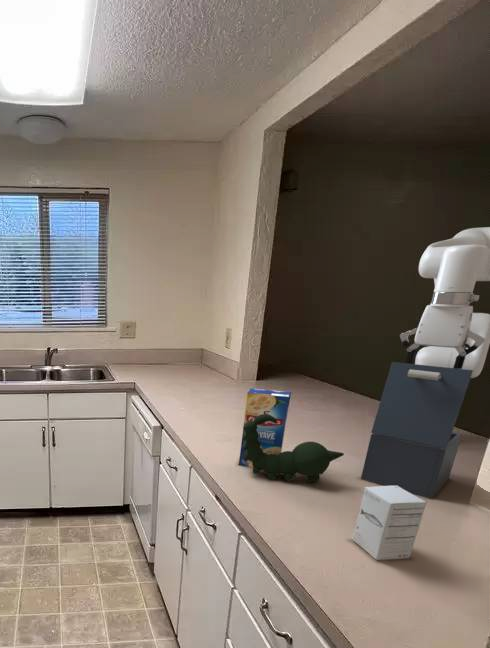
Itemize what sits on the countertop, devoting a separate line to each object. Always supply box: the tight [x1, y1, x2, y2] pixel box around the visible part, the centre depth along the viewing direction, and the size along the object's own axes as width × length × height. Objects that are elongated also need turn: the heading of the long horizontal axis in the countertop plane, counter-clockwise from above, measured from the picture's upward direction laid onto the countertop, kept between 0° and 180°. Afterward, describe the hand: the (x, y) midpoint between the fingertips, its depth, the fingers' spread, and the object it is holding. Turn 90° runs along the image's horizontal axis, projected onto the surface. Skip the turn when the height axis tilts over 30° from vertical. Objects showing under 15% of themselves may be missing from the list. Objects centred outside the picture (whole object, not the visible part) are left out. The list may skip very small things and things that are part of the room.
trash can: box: [360, 432, 463, 499], centre depth 118 cm, size 18×16×13 cm
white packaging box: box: [351, 485, 427, 561], centre depth 86 cm, size 7×7×13 cm
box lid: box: [370, 361, 473, 449], centre depth 106 cm, size 19×16×5 cm
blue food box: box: [238, 387, 292, 468], centre depth 127 cm, size 7×11×22 cm, turn 62°
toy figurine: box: [242, 414, 345, 484], centre depth 118 cm, size 9×19×25 cm
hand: (432, 368), depth 113 cm, fingers open, 9 cm apart
